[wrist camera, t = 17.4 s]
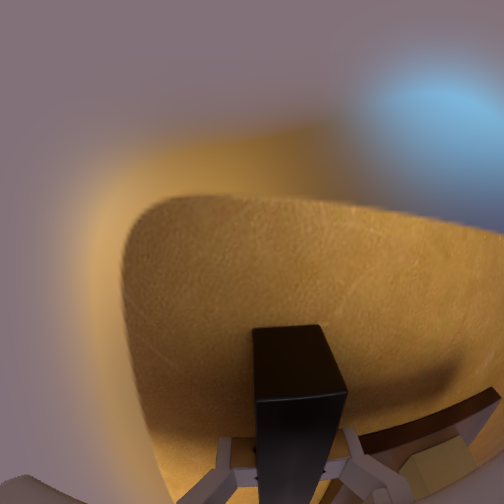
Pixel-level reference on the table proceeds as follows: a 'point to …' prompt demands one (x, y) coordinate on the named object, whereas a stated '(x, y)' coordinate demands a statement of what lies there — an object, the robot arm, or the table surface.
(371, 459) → the robot arm
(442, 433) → the board
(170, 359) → the table surface
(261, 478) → the knife
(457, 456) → the block
